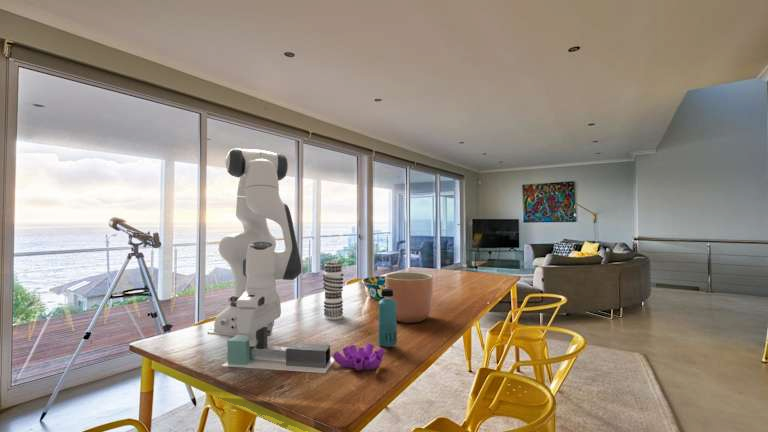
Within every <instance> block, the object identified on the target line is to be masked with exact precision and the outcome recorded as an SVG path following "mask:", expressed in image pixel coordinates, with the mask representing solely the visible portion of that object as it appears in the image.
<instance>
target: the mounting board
mask: <svg viewBox="0 0 768 432" xmlns="http://www.w3.org/2000/svg"><path fill="white" fill-rule="evenodd" d="M334 362H335V360H334V358H333V356H332V357H331V356H330V362H329V364H328V365H327V366H326V368H315V367H300V366H286V361H282V360H266V359H253V360H252V361H251V362H249V363H248V364H247V365H237V364H228V363H227V361H226V362H225V363H223V364H221V366H222V367H232V368H244V369H245V368H247V369H260V370H262V369H264V370H276V371H291V372H303V373H305V372H306V373H319V374H326V372H327V371H328V370H329V368H330V367H332V364H333V363H334Z"/></svg>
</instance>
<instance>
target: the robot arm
mask: <svg viewBox="0 0 768 432" xmlns="http://www.w3.org/2000/svg"><path fill="white" fill-rule="evenodd" d="M224 163H225V168H226V170H227V173H228V174H229V175H230V176H232V177H235V178H237V179H238V178H239V180H238V187H237V192H236V193H237V194H236V207H235V209H236V211H235V216H236V219H238V220H239V221H240V222H241V224H242V227H243V232H235V233H232V234H229V235H226V236H224V237H222V239H221V240H220V242H219V245H218V252H219V256H220V257H221V258H222V259H223V260H224V261H226V263H227V264H228V266H229V267H230V269H231V272H232V273H231V274H232V276H233V289H234V290H233V293H234V294H233V295H232V296H231V297H230V298H228V300H227V302H228V303H229V302H230V304H229V305H228V306H227V307H226V308H225V309H224V310H222V311H221V312H220V313H218V314H217V315H216V317H215V318H214V324H213V326H212V327H211V328H209V329H208V330H207V335H211V336H212V335H214V336H215V335H216V336H230V337H231V336H232V337H234V336H236V335H238V334H240V335H247V337H248V339H249V345H250V346H251V347H254V346H256V345H257V344H258V343H257V341H258V340H257V339H256V338H255V335H256V331H257V330H259V329H261V328H262V327H267V337H270V336H272V335H273V329H274V324H275V320H277V319H279V318H280V317H281V315H282V308H281V307H282V305H281V299H280V298H281V297H279V295H278V292H277V283H276V280H283V281H285V280H286V281H294V280H295V279H296V278H298V277H299V276H300V274H301V273H302V270H303V261H302V256H301V255H300V252H299V248H298V243H297V237H296V232H295V227H294V222H293V218H292V215H291V210H290V208H289V206H288V204H286V203H284V202H283V201H282V199H281V196H280V193H279V192H280V190H279V185H280V184H279V181H282V180H283V179H284V178H285V177H286V176H287V173H288V170H289V164H288V159H287V157H286V156H285V155H284V154H282V153H279V152H273V151H268V150H263V149H249V148H247V149H246V148H243V149H242V148H237V147H236V148H232V149H230V150H229V151H228V153H227V155H226V158H225V162H224ZM267 219H268V220H271V221H273V222H275V223H276V224H278V225H279V226H280V228H281V230H282V231H281V232H282V235H283V241H284V246H285V248H284V249H282V250H275V249H276V246H277V244H276V243H277V242H276V238H275V236H273V235H272V234H271V232H270V230H269V226H268V222H267Z"/></svg>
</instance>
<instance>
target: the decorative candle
mask: <svg viewBox="0 0 768 432" xmlns="http://www.w3.org/2000/svg"><path fill="white" fill-rule="evenodd" d="M342 265H343V264H342V263H341V261H340V260H328V261H326V263H325V264H324V272H323V273H324V274H322V276H323V277H322V281H323V283H322V284H323V292H324V301H323V304H324V305H323V307H324V309H323V315H324V316H323V317H324V319H325V320H339V319H343V314H344V312H343V311H344V308H343V306H344V305H343V303H344V301H343V288H344V286H343V284H344V281H343V280H344V278H342V277H343V276H345V274H344V273H343V271H342V270H343V266H342Z"/></svg>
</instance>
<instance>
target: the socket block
mask: <svg viewBox="0 0 768 432" xmlns="http://www.w3.org/2000/svg"><path fill="white" fill-rule="evenodd" d="M255 338H256V335H255ZM226 345H227V347H226V348H227V354H226V355H227V360H226V362H227V363H228V364H237V365H247V364H248V363H249V362H251V361H252V360H253V359H251V358H250V347H251V346H250V345H249V339H248V337H247V335H240V334H238V335H236V336H232V337H231V338H229V339H228V340H227V343H226Z"/></svg>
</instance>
